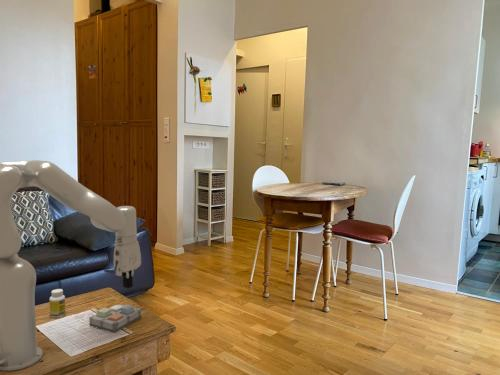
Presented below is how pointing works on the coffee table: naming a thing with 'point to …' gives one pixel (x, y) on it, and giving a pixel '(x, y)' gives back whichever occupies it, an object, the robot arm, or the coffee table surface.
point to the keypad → (112, 325)
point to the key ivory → (116, 308)
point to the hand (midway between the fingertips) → (127, 286)
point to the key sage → (103, 312)
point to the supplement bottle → (57, 303)
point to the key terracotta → (115, 317)
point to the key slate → (127, 309)
